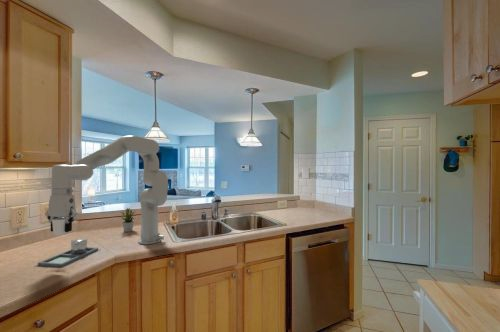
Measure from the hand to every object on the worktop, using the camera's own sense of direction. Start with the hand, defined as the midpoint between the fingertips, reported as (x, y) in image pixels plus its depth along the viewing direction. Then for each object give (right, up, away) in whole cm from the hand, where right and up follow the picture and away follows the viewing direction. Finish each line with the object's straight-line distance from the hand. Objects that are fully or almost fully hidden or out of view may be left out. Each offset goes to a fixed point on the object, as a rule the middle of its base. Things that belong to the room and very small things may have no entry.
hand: (61, 230), depth 115 cm
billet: (+1, -14, +10) cm, 17 cm away
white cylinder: (0, -1, 0) cm, 1 cm away
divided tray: (0, -15, +5) cm, 16 cm away
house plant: (+1, -15, +60) cm, 62 cm away
